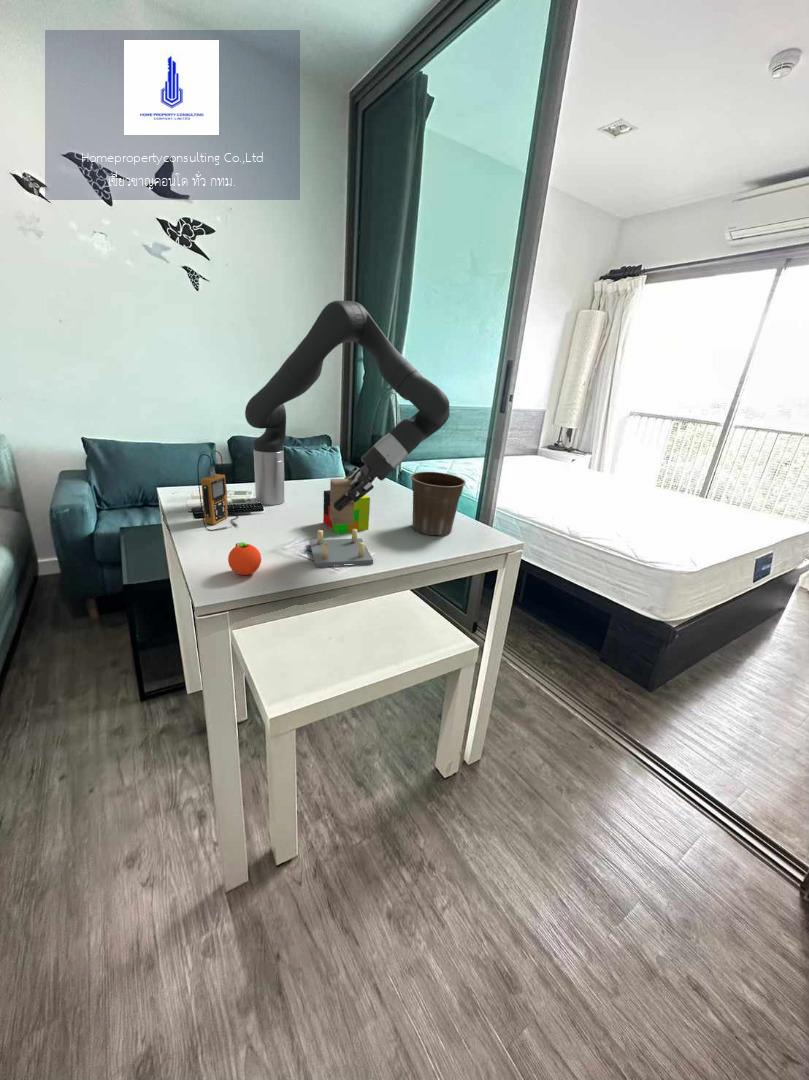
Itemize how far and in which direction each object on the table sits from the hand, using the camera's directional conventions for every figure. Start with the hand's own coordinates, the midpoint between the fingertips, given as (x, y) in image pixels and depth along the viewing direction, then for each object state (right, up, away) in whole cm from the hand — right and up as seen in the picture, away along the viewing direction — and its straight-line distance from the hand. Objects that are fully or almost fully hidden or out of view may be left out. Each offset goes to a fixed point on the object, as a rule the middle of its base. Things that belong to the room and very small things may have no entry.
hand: (334, 504), depth 106 cm
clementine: (-19, -16, -8) cm, 26 cm away
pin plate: (+1, -12, +5) cm, 13 cm away
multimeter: (-33, -4, +19) cm, 39 cm away
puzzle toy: (-1, -5, +25) cm, 25 cm away
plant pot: (+26, -6, +28) cm, 38 cm away
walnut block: (+1, -4, +2) cm, 5 cm away
